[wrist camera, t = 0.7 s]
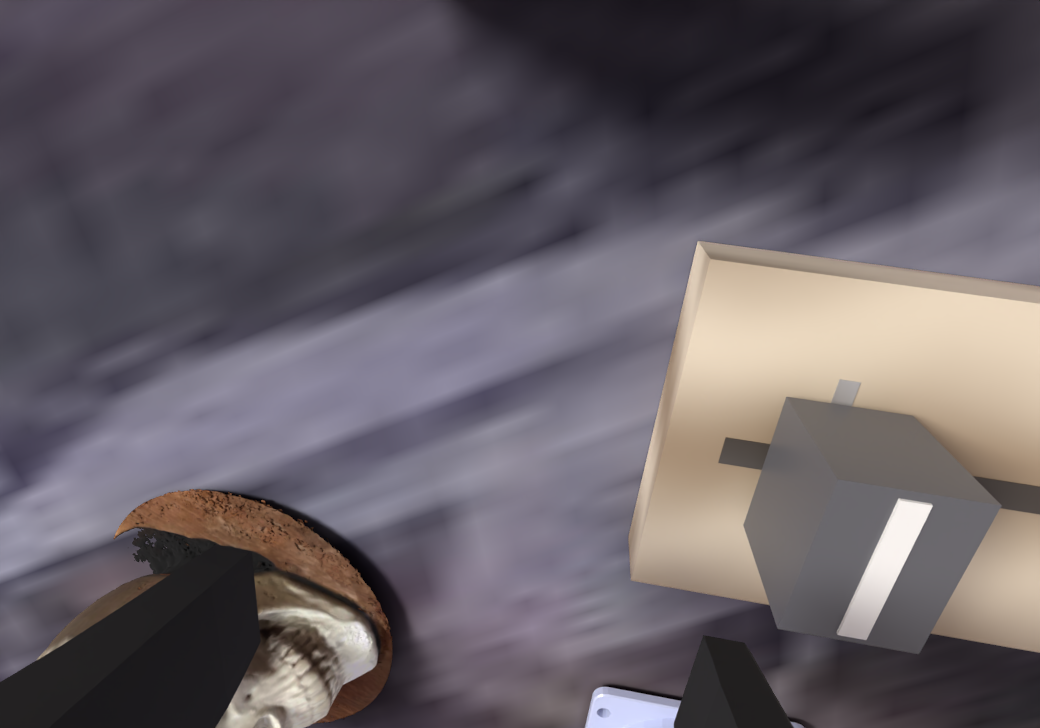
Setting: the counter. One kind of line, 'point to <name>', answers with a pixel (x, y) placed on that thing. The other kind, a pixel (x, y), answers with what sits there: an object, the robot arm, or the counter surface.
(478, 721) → the counter surface
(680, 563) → the slider board
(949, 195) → the counter surface
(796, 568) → the fader knob
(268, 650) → the skull
